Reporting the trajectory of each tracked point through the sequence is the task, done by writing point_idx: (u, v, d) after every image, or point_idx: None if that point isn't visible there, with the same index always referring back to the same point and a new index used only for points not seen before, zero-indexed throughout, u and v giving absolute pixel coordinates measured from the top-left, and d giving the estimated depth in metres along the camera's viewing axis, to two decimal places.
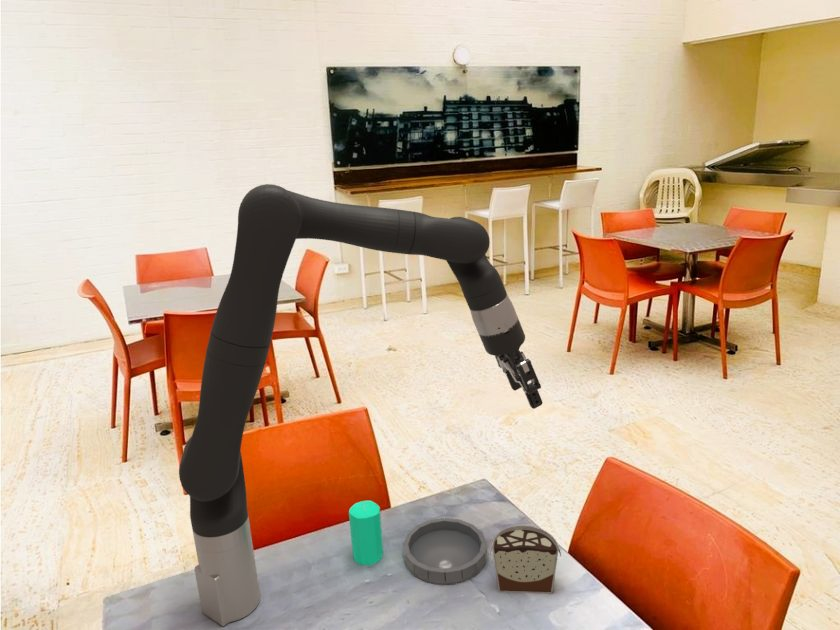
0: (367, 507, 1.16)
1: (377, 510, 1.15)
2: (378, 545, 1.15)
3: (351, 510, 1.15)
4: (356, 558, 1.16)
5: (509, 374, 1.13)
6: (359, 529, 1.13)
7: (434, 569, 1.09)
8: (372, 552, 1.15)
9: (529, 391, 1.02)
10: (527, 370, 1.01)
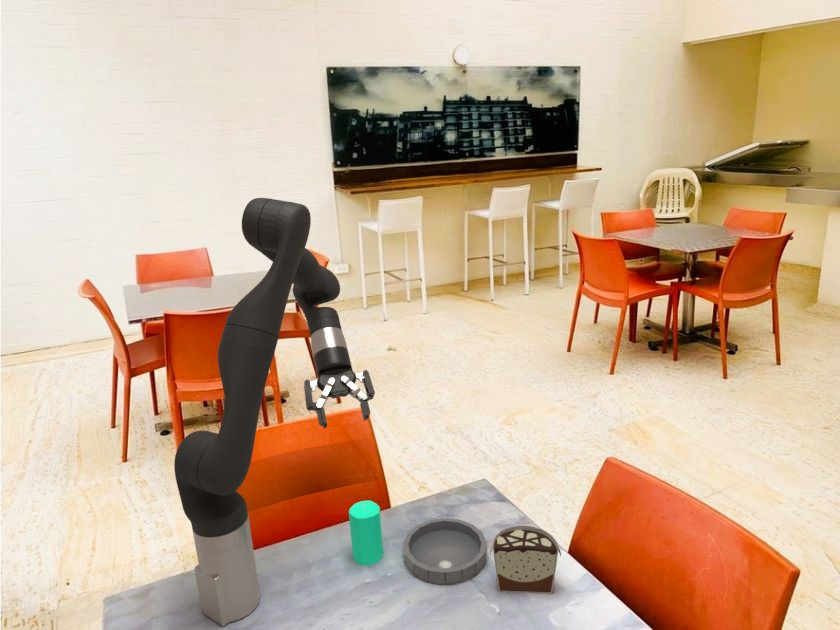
0: (367, 507, 1.16)
1: (377, 510, 1.15)
2: (378, 545, 1.15)
3: (351, 510, 1.15)
4: (356, 558, 1.16)
5: None
6: (359, 529, 1.13)
7: (434, 569, 1.09)
8: (372, 553, 1.15)
9: None
10: None
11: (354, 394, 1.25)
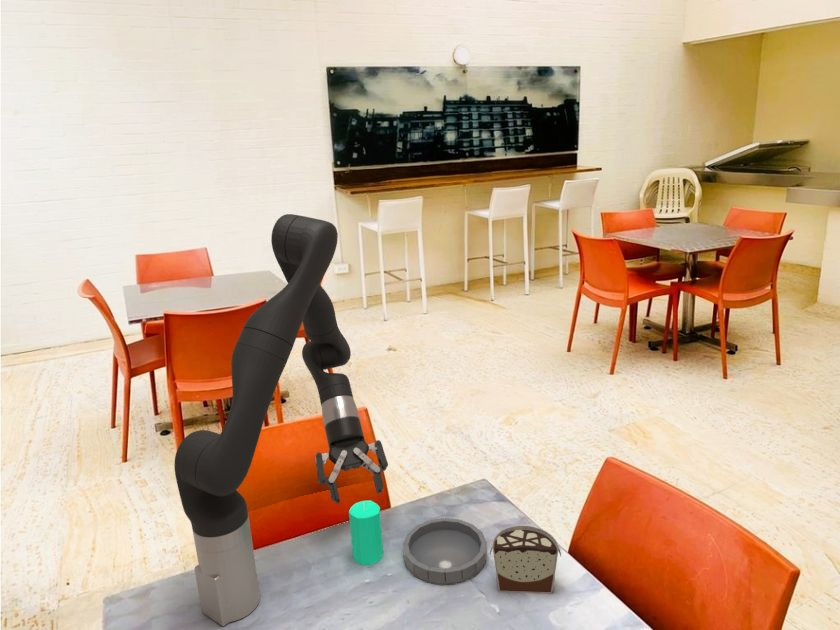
0: (367, 507, 1.16)
1: (377, 510, 1.15)
2: (378, 545, 1.15)
3: (351, 510, 1.15)
4: (356, 558, 1.16)
5: None
6: (360, 529, 1.13)
7: (434, 569, 1.09)
8: (372, 552, 1.15)
9: (387, 463, 1.22)
10: None
11: (367, 466, 1.22)
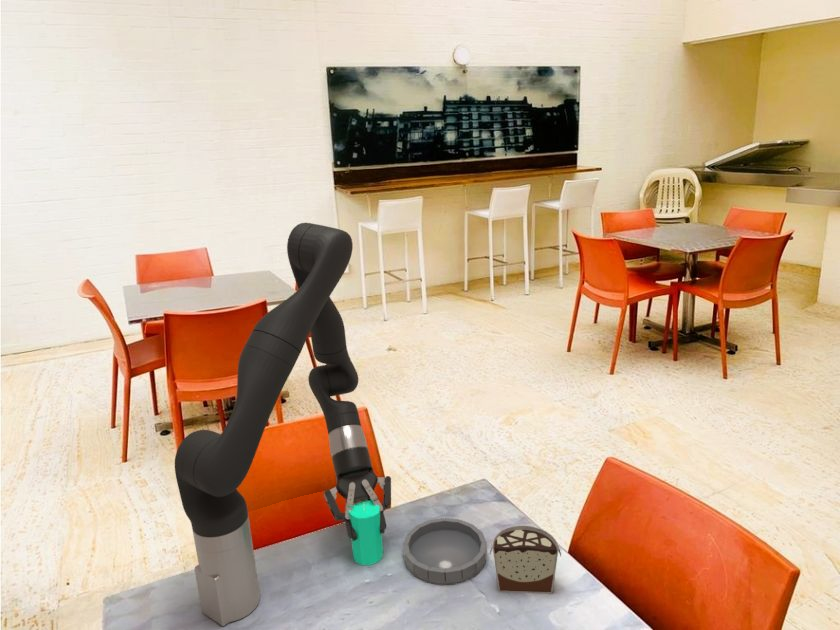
0: (367, 507, 1.16)
1: (377, 510, 1.15)
2: (378, 545, 1.15)
3: None
4: (356, 558, 1.15)
5: None
6: (359, 529, 1.13)
7: (434, 569, 1.09)
8: (372, 552, 1.15)
9: (390, 502, 1.18)
10: None
11: None
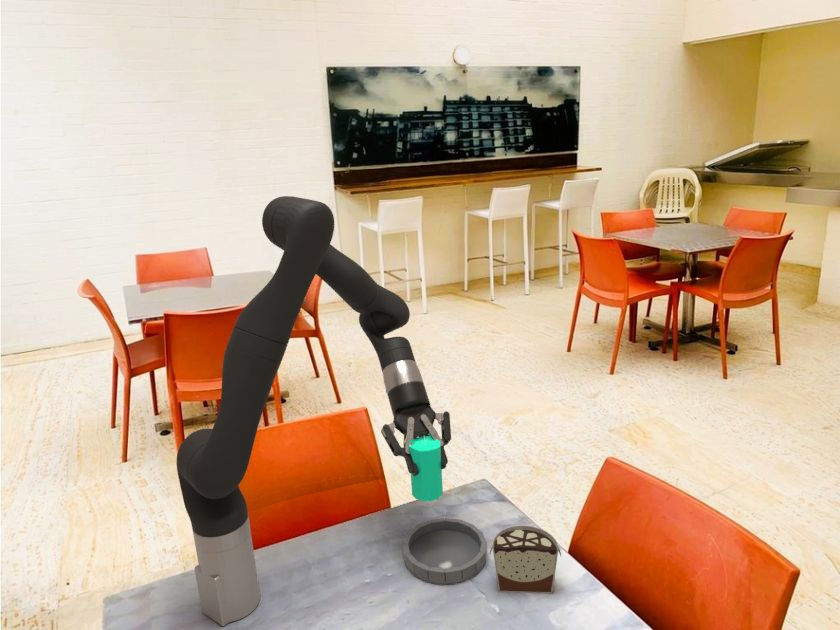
0: (427, 442, 1.12)
1: (438, 444, 1.11)
2: (439, 481, 1.11)
3: None
4: (416, 494, 1.11)
5: None
6: (421, 463, 1.09)
7: (434, 569, 1.09)
8: (434, 488, 1.11)
9: (450, 437, 1.14)
10: None
11: None
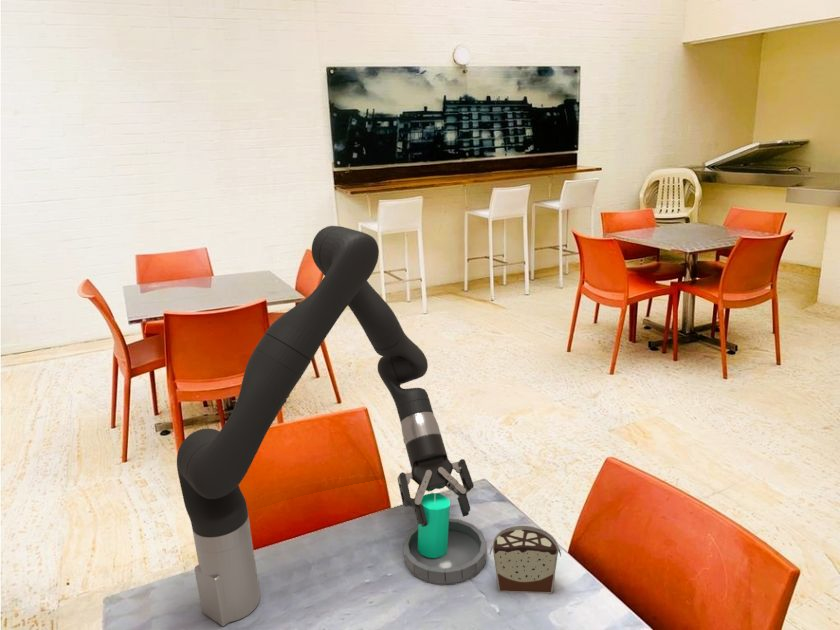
0: (437, 499, 1.16)
1: (447, 503, 1.15)
2: (445, 539, 1.15)
3: None
4: (422, 550, 1.15)
5: None
6: (430, 520, 1.12)
7: (434, 569, 1.09)
8: (439, 546, 1.14)
9: (472, 484, 1.16)
10: None
11: (451, 487, 1.16)
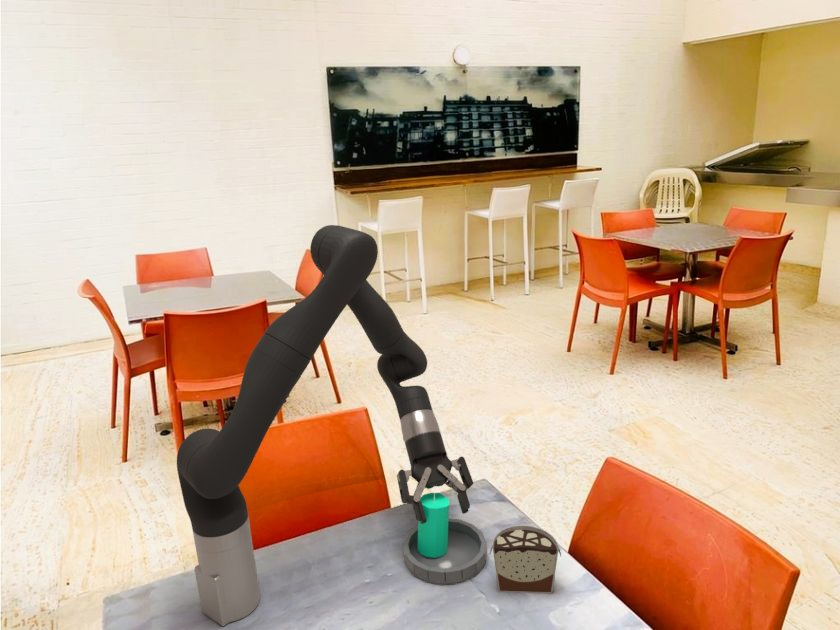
0: (436, 499, 1.16)
1: (447, 502, 1.15)
2: (445, 538, 1.15)
3: (420, 500, 1.15)
4: (422, 550, 1.15)
5: None
6: (429, 519, 1.13)
7: (434, 569, 1.09)
8: (439, 545, 1.14)
9: (472, 481, 1.17)
10: None
11: (451, 484, 1.16)
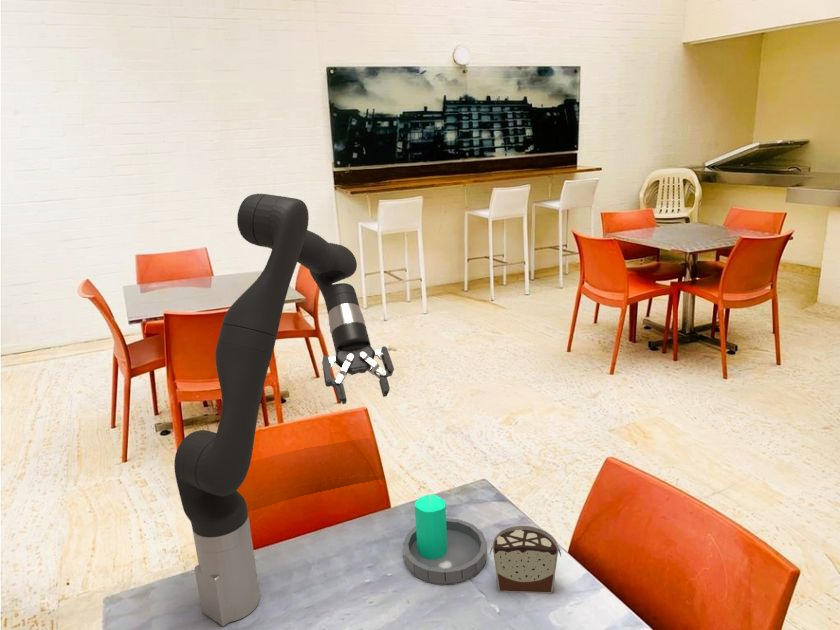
0: (432, 501, 1.16)
1: (443, 504, 1.14)
2: (443, 540, 1.15)
3: (416, 503, 1.15)
4: (421, 552, 1.15)
5: None
6: (426, 523, 1.12)
7: (434, 569, 1.09)
8: (438, 547, 1.14)
9: (393, 368, 1.24)
10: None
11: (373, 370, 1.24)
